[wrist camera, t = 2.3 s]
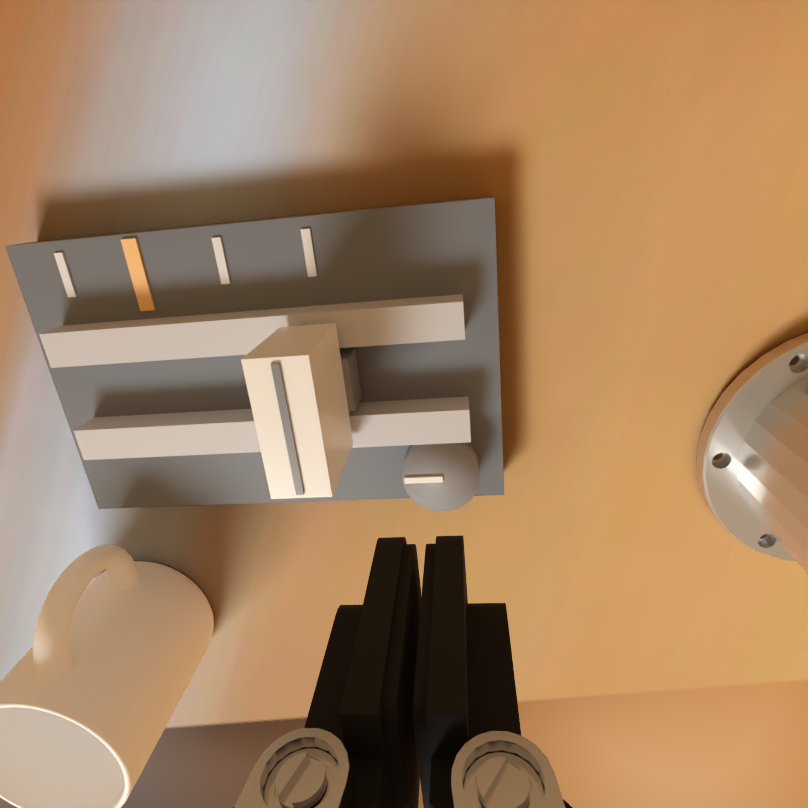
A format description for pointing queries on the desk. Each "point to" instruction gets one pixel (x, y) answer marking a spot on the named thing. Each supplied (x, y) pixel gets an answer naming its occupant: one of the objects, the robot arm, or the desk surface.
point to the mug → (99, 681)
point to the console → (254, 322)
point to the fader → (303, 408)
